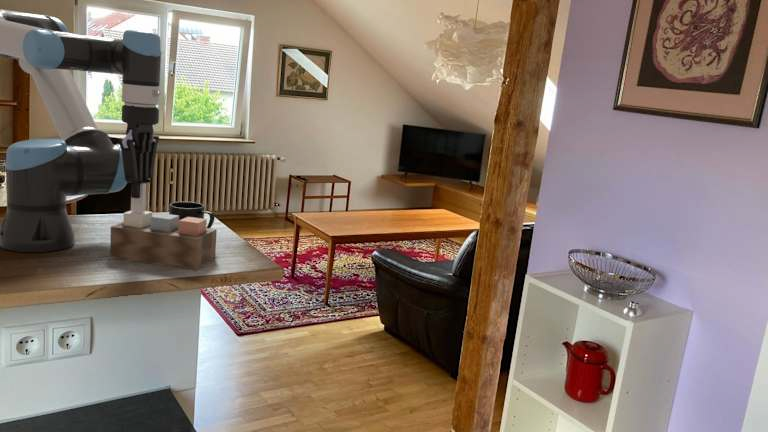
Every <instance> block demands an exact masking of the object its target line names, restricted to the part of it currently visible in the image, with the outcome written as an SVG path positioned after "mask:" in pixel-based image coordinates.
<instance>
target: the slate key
mask: <svg viewBox="0 0 768 432" xmlns="http://www.w3.org/2000/svg"><path fill="white" fill-rule="evenodd" d="M178 228H179V215H171V214H169V213H163V212H162V213H161V212H160V213H158V214H155V215H152V217H151V229H152V230H159V231H167V232H172V231H174V230H176V229H178Z"/></svg>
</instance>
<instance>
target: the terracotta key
mask: <svg viewBox="0 0 768 432" xmlns="http://www.w3.org/2000/svg"><path fill="white" fill-rule="evenodd" d="M207 221H208V220H207V219H206V218H204V219H201V218H194V217H186V218H184V219H182V220H179V233H181V234H188V235H195V236H200V235H202V234H204V233H206V227H207Z"/></svg>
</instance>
